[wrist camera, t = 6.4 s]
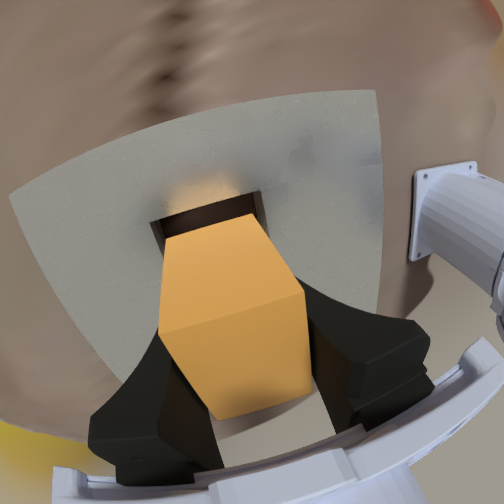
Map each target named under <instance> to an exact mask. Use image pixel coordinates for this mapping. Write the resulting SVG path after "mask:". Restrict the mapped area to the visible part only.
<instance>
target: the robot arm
mask: <svg viewBox="0 0 504 504" xmlns="http://www.w3.org/2000/svg"><path fill="white" fill-rule="evenodd" d="M423 177H424V178H423ZM434 252H435V253H436V254H438V255H439V256H440V257H442V258H443V259H445V260H446V261H447V262H449V263H450V264H451V265H453V266H454V267H455V268H457V269H458V270H459V271H461V272H462V273H463V274H464V275H465V276H467V277H468V278H469V279H471V280H472V281H473V282H474V283H476V284H477V285H478V286H479V287H480V288H481V289H483V290H484V291H485V292H486V293H487V294H488V295H490V296H491V297H492V298H493V300H492V303H491V306H490V308H491V309H492V310H493V311H494V312H496V313H497V317H496V325H497V329H498V332H499V335H500V336H501V339H502V341H503V342H504V184H503V183H501V182H499V181H497V180H494V179H492V178H490V177H487V176H485V175H483V174H480V173H478V172H477V163H476V162H475V161H469V162H462V163H457V164H451V165H445V166H439V167H434V168H429V169H423V170H418V171H417V172H416V173H415V175H414V201H413V218H412V231H411V242H410V251H409V259H410V260H411V261H416V260H418V259H420V258H423V257H425V256H427V255H429V254H431V253H434ZM295 278H296V279H297V281H298V282H299V284H300V285H301V287H302V288H303V290H304V293H305V302H306V313H307V323H308V335H309V347H310V360H311V373H312V375H313V378H314V380H315V382H316V385H317V387H318V389H319V392H320V394H321V396H322V399H323V401H324V404H325V406H326V409H327V411H328V414H329V416H330V419H331V422H332V424H333V427H334V429H335V432H336V435H334V436H331V437H329V438H327V439H324V440H321V441H319V442H316V443H314V444H311V445H308V446H306V447H302V448H300V449H297V450H294V451H291V452H287V453H284V454H281V455H278V456H275V457H271V458H267V459H264V460H260V461H256V462H252V463H247V464H243V465H239V466H234V467H229V468H225V467H224V464H223V461H222V458H221V455H220V452H219V449H218V446H217V442H216V439H215V435H214V432H213V428H212V424H211V420H210V416H209V412H208V408H207V406H206V405H205V404H204V402H203V401H202V400H201V398H200V397H199V395H198V394H197V393H196V391H195V390H194V388H193V387H192V386H191V384H190V383H189V381H188V380H187V378H186V377H185V376H184V374H183V373H182V371H181V370H180V368H179V367H178V365H177V364H176V362H175V361H174V359H173V357H172V356H171V354H170V353H169V351H168V350H167V348H166V346H165V345H164V343H163V342H162V340H161V338H160V337H159V335H158V328H157V330H156V333H155V335H154V337H153V339H152V341H151V343H150V344H149V346H148V348H147V350H146V352H145V354H144V355H143V357H142V359H141V360H140V362H139V363H138V365H137V366H136V368H135V369H134V371H133V372H132V373H131V375H130V376H129V377H128V379H127V380H126V381H125V382H124V384H123V385H122V386H121V387H120V388H119V390H118V391H117V392H116V393H115V394H114V395H113V396H112V397H111V398H110V399H109V400H108V401H107V402H106V403H105V404H104V405H103V406H102V407H101V408H100V409H99V410H97V411H96V412H95V413H94V414H93V415H92V416H91V417H90V424H89V434H88V447H89V449H90V450H91V451H92V452H93V453H94V454H96V455H97V456H99V457H100V458H102V459H104V460H106V461H107V462H109V463H111V464H113V465H115V466H116V477H106V476H92V475H86V474H84V473H83V472H81V471H79V470H77V469H73V468H68V467H61V466H54V468H53V483H52V504H429V503H428V501H427V499H426V497H425V495H424V494H423V492H422V490H421V488H420V486H419V485H418V483H417V481H416V479H415V477H414V476H413V474H412V472H411V470H410V469H409V466H410V465H412V464H413V463H415V462H416V461H418V460H419V459H421V458H422V457H424V456H425V455H427V454H428V453H429V452H431V451H432V450H434V449H435V448H436V447H438V446H439V445H440V444H442V443H443V442H444V441H445V440H447V439H448V438H449V437H450V436H451V435H453V434H454V433H455V432H457V431H458V430H459V429H460V428H461V427H462V426H464V425H465V424H466V423H467V422H468V421H469V420H470V419H471V418H472V417H474V416H475V415H476V414H477V413H478V412H479V411H480V410H481V409H482V408H483V407H484V406H485V405H486V404H487V403H488V402H489V401H490V400H491V399H492V398H493V397H494V396H495V394H496V393H497V392H498V391H499V390H500V389H501V387H502V386H503V385H504V359H503V358H502V357H501V356H500V355H499V354H498V353H497V351H496V350H495V349H494V348H493V347H492V346H491V345H490V344H489V343H488V342H487V341H486V340H485V339H484V337H480V338H479V339H478V340H477V341H475V342H474V343H473V344H472V345H471V346H469V347H468V348H467V349H466V350H465V352H464V353H463V354H462V356H461V358H460V360H459V362H458V363H457V364H456V365H455V366H453V367H452V368H451V369H450V370H448V371H447V372H445V373H444V374H443V375H441V376H440V377H438V378H437V379H436V380H434V381H433V382H431V380H430V379H429V377H428V376H427V375H426V374H425V373H426V372H427V368H426V367H425V366H424V364H423V361H424V359H425V357H426V354H427V352H428V349H429V346H430V337H429V336H428V335H427V334H426V333H425V331H424V330H423V329H422V328H421V327H420V326H419V325H418V324H417V323H416V322H415V321H414V320H407V319H399V318H392V317H387V316H382V315H377V314H373V313H370V312H366V311H363V310H360V309H357V308H354V307H351V306H348V305H346V304H344V303H341V302H339V301H336V300H334V299H332V298H330V297H328V296H326V295H325V294H323V293H321V292H319V291H318V290H316V289H314V288H313V287H311V286H309V285H308V284H306V283H305V282H303V281H302V280H300V279H299V278H297V277H296V276H295ZM158 327H159V326H158Z"/></svg>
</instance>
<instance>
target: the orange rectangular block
mask: <svg viewBox="0 0 504 504" xmlns="http://www.w3.org/2000/svg"><path fill="white" fill-rule="evenodd" d="M158 335H159V337H160V338H161V340H162V342H163V343H164V345H165V346H166V348H167V350H168V351H169V353H170V354H171V356H172V357H173V359H174V361H175V362H176V364H177V365H178V367H179V368H180V370H181V371H182V373H183V374H184V376H185V377H186V378H187V380H188V381H189V383H190V384H191V386H192V387H193V388H194V390H195V391H196V393H197V394H198V395H199V397H200V398H201V400H202V401H203V402H204V404H205V405H206V406H207V408H208V409H209V410H210V411H211V413H212V414H213V415H214V417H215V418H216V419H217V420H218V421H220V420H224V419H228V418H232V417H236V416H240V415H244V414H248V413H251V412H255V411H258V410H262V409H265V408H269V407H272V406H275V405H278V404H281V403H284V402H287V401H290V400H293V399H296V398H299V397H301V396H304V395H307V394H310V393H312V392H313V391H312V374H311V360H310V347H309V335H308V323H307V313H306V302H305V293H304V290H303V288H302V287H301V285H300V284H299V282H298V281H297V279H296V278H295V276H294V275H293V273H292V272H291V270H290V269H289V267H288V266H287V264H286V263H285V261H284V260H283V258H282V257H281V255H280V254H279V252H278V251H277V249H276V248H275V246H274V245H273V243H272V242H271V241H270V239H269V238H268V236H267V235H266V233H265V232H264V230H263V229H262V227H261V226H260V224H259V223H258V221H257V220H256V219H255V217H254V216H253V214H248V215H245V216H241V217H238V218H234V219H231V220H227V221H224V222H220V223H217V224H213V225H210V226H206V227H203V228H200V229H196V230H193V231H190V232H186V233H183V234H180V235H177V236H173V237H170V238H167V239H166V245H165V253H164V262H163V272H162V283H161V295H160V309H159V327H158Z"/></svg>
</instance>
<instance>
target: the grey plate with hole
mask: <svg viewBox="0 0 504 504" xmlns="http://www.w3.org/2000/svg"><path fill="white" fill-rule="evenodd" d="M251 192H252V194H253V199H254V204H255V209H256V213H257V218H258V223H259V224H260V226H261V227H262V229H263V230H264V232H265V233H266V235H267V236H268V238H269V239H270V241H271V242H272V243H273V245H274V246H275V248H276V249H277V251H278V252H279V254H280V255H281V257H282V258H283V260H284V261H285V263H286V264H287V266H288V267H289V269H290V270H291V272H292V273H293V275H294V276H296V277H297V278H299V279H300V280H302V281H303V282H305V283H306V284H308V285H309V286H311V287H313V288H314V289H316V290H318V291H319V292H321V293H323V294H325V295H326V296H328V297H330V298H332V299H334V300H336V301H339V302H341V303H344V304H346V305H348V306H351V307H354V308H357V309H360V310H363V311H366V312H370V313H373V314H376V307H377V299H378V290H379V281H380V270H381V256H382V238H383V167H382V150H381V137H380V126H379V117H378V109H377V101H376V94H375V90H343V91H326V92H313V93H303V94H294V95H286V96H279V97H272V98H265V99H259V100H254V101H248V102H243V103H238V104H233V105H228V106H224V107H219V108H215V109H211V110H207V111H203V112H199V113H195V114H191V115H188V116H184V117H181V118H177V119H174V120H170V121H167V122H164V123H161V124H158V125H155V126H152V127H149V128H146V129H143V130H140V131H137V132H135V133H132V134H129V135H127V136H124V137H121V138H119V139H116V140H114V141H111V142H109V143H106V144H104V145H102V146H99V147H97V148H95V149H92V150H90V151H88V152H86V153H84V154H81V155H79V156H77V157H75V158H73V159H71V160H69V161H67V162H65V163H63V164H61V165H59V166H57V167H55V168H53V169H52V170H50V171H48V172H46V173H44V174H42V175H41V176H39V177H37V178H35V179H34V180H32V181H30V182H28V183H27V184H25V185H24V186H22V187H20V188H19V189H17V190H15V191H14V192H12V193H11V194H9V195H8V196H9V199H10V202H11V204H12V207H13V209H14V212H15V215H16V217H17V219H18V222H19V224H20V226H21V229H22V231H23V233H24V235H25V238H26V240H27V242H28V244H29V246H30V248H31V250H32V252H33V254H34V256H35V258H36V260H37V262H38V264H39V266H40V268H41V269H42V271H43V273H44V275H45V277H46V278H47V280H48V282H49V284H50V285H51V287H52V289H53V290H54V292H55V294H56V295H57V297H58V299H59V300H60V302H61V303H62V305H63V306H64V308H65V310H66V311H67V313H68V314H69V316H70V317H71V319H72V320H73V321H74V323H75V324H76V326H77V327H78V329H79V330H80V331H81V333H82V334H83V335H84V337H85V338H86V339H87V341H88V342H89V343H90V345H91V346H92V347H93V349H94V350H95V351H96V352H97V354H98V355H99V356H100V357H101V359H102V360H103V361H104V362H105V363H106V365H107V366H108V367H109V368H110V369H111V371H112V372H113V373H114V374H115V375H116V376H117V377H118V379H119V380H120V381H121V382H122V383H123V384H124V382H125V381H126V380H127V379H128V377H129V376H130V375H131V373H132V372H133V371H134V369H135V368H136V366H137V365H138V363H139V362H140V360H141V359H142V357H143V355H144V354H145V352H146V350H147V348H148V346H149V344H150V343H151V341H152V339H153V337H154V335H155V333H156V330H157V328H158V326H159V309H160V295H161V283H162V272H163V262H164V253H165V245H166V237H165V234H164V232H163V229H162V226H161V223H160V221H159V219H161V218H165V217H168V216H171V215H174V214H177V213H180V212H184V211H187V210H190V209H194V208H197V207H200V206H204V205H207V204H211V203H214V202H218V201H221V200H225V199H228V198H232V197H236V196H239V195H243V194H247V193H251Z"/></svg>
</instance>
